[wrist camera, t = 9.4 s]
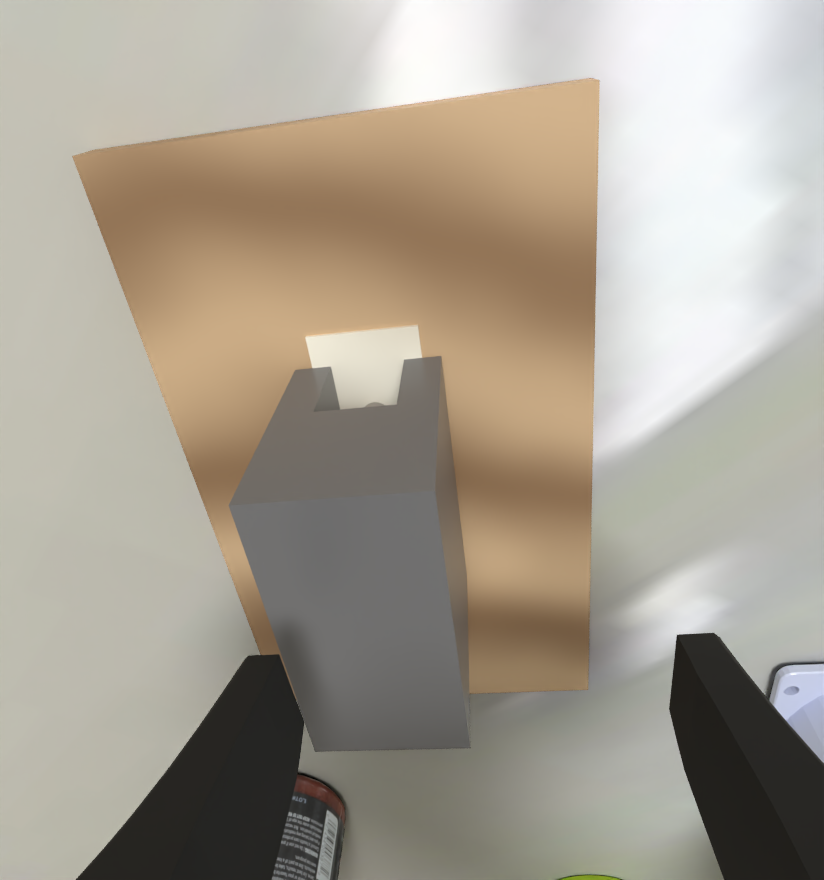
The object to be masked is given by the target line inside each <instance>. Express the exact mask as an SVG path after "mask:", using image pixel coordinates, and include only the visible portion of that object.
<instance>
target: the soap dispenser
mask: <svg viewBox="0 0 824 880" xmlns="http://www.w3.org/2000/svg"><path fill="white" fill-rule="evenodd" d="M560 880H621V879H617V878H613V877H607V876H598V875H582V876H573V877H567V878H563V879H560Z"/></svg>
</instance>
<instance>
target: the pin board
mask: <svg viewBox="0 0 824 880" xmlns="http://www.w3.org/2000/svg"><path fill="white" fill-rule="evenodd" d="M598 132H599V80H596V79H593V78H588V79H581V80H574V81H567V82H560V83H554V84H547V85H540V86H533V87H526V88H519V89H512V90H505V91H498V92H491V93H484V94H477V95H471V96H464V97H457V98H450V99H443V100H436V101H429V102H422V103H415V104H408V105H401V106H395V107H388V108H381V109H374V110H367V111H360V112H353V113H346V114H339V115H332V116H325V117H319V118H312V119H305V120H298V121H291V122H284V123H277V124H270V125H263V126H256V127H249V128H243V129H236V130H229V131H222V132H215V133H208V134H201V135H194V136H187V137H180V138H173V139H166V140H160V141H153V142H146V143H139V144H132V145H125V146H118V147H111V148H104V149H97V150H92V151H88V152H85V153H82V154H78V155H75V156H72V157H73V159H74V162H75V165H76V167H77V170H78V173H79V175H80V178H81V180H82V183H83V186H84V188H85V191H86V194H87V196H88V199H89V202H90V204H91V207H92V210H93V212H94V215H95V217H96V220H97V223H98V225H99V228H100V231H101V233H102V236H103V239H104V241H105V244H106V247H107V249H108V252H109V255H110V257H111V260H112V262H113V265H114V268H115V270H116V273H117V276H118V278H119V281H120V284H121V286H122V289H123V292H124V294H125V297H126V299H127V302H128V305H129V307H130V310H131V313H132V315H133V318H134V321H135V323H136V326H137V329H138V331H139V334H140V337H141V339H142V342H143V344H144V347H145V350H146V352H147V355H148V358H149V360H150V363H151V366H152V368H153V371H154V374H155V376H156V379H157V381H158V384H159V387H160V389H161V392H162V395H163V397H164V400H165V403H166V405H167V408H168V411H169V413H170V416H171V418H172V421H173V424H174V426H175V429H176V432H177V434H178V437H179V440H180V442H181V445H182V448H183V450H184V453H185V456H186V458H187V461H188V463H189V466H190V469H191V471H192V474H193V477H194V479H195V482H196V485H197V487H198V490H199V493H200V495H201V498H202V500H203V503H204V506H205V508H206V511H207V514H208V516H209V519H210V522H211V524H212V527H213V530H214V532H215V535H216V538H217V540H218V543H219V545H220V548H221V551H222V553H223V556H224V559H225V561H226V564H227V567H228V569H229V572H230V575H231V577H232V580H233V582H234V585H235V588H236V590H237V593H238V596H239V598H240V601H241V604H242V606H243V609H244V612H245V614H246V617H247V620H248V622H249V625H250V627H251V630H252V633H253V635H254V638H255V641H256V643H257V646H258V649H259V651H260V654H261V655H274V654H279V655H280V658H281V661H282V663H283V666H284V669H285V671H286V674H287V677H288V679H289V676H288V673H287V670H286V667H285V665H284V662H283V659H282V656H281V653H280V650H279V647H278V645H277V642H276V639H275V636H274V633H273V630H272V628H271V625H270V622H269V619H268V616H267V613H266V611H265V608H264V605H263V602H262V599H261V596H260V593H259V591H258V588H257V585H256V582H255V579H254V576H253V574H252V571H251V568H250V565H249V562H248V559H247V557H246V554H245V551H244V548H243V545H242V542H241V539H240V537H239V534H238V531H237V528H236V525H235V522H234V520H233V517H232V514H231V511H230V508H229V503H230V501H231V499H232V497H233V495H234V493H235V491H236V489H237V487H238V485H239V483H240V481H241V479H242V477H243V475H244V473H245V471H246V469H247V467H248V465H249V463H250V461H251V459H252V457H253V455H254V453H255V451H256V449H257V446H258V444H259V442H260V440H261V438H262V436H263V434H264V432H265V430H266V428H267V426H268V424H269V422H270V420H271V418H272V416H273V414H274V412H275V410H276V408H277V406H278V404H279V402H280V400H281V398H282V396H283V394H284V392H285V390H286V387H287V385H288V383H289V381H290V379H291V377H292V375H293V373H294V371H295V370H300V369H310V368H320V367H331V369H332V374H333V378H334V383H335V388H336V392H337V397H338V402H339V406H340V409H352V408H363V407H375V406H386V405H397V399H398V393H399V387H400V381H401V375H402V369H403V363H404V359H415V358H425V357H436V356H441V357H442V366H443V375H444V383H445V392H446V400H447V409H448V418H449V426H450V435H451V444H452V452H453V461H454V469H455V478H456V487H457V495H458V504H459V513H460V521H461V530H462V538H463V547H464V556H465V564H466V573H467V600H468V649H469V694H476V693H506V692H536V691H566V690H588V671H589V617H590V563H591V509H592V456H593V402H594V348H595V294H596V240H597V186H598ZM289 682H290V679H289ZM290 685H291V688H292V690H293V687H292V684H291V682H290ZM293 693H294V690H293ZM294 696H295V693H294ZM295 698H296V696H295ZM296 700H297V699H296Z"/></svg>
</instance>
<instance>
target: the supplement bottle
mask: <svg viewBox="0 0 824 880" xmlns="http://www.w3.org/2000/svg"><path fill="white" fill-rule="evenodd" d="M344 824H345V808H344V806H343V804H342V802H341V800H340V799H339V798H338V796H337V795H336V794H335V793H334V792H333V791H332V790H331V789H330V788H328V787H327V786H326V785H324V784H322V783H321V782H319V781H317V780H314V779H311V778H308V777H306V776H303V775H299V774H297V779H296V784H295V788H294V792H293V796H292V800H291V804H290V809H289V813H288V817H287V821H286V825H285V829H284V833H283V837H282V841H281V845H280V849H279V853H278V857H277V861H276V865H275V869H274V873H273V877H272V880H338V874H339V866H340V858H341V852H342V844H343V837H344V830H345V829H344Z"/></svg>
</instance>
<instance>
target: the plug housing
mask: <svg viewBox="0 0 824 880" xmlns="http://www.w3.org/2000/svg"><path fill="white" fill-rule="evenodd" d="M229 508H230V511H231V514H232V517H233V520H234V522H235V525H236V528H237V531H238V534H239V537H240V539H241V542H242V545H243V548H244V551H245V554H246V557H247V559H248V562H249V565H250V568H251V571H252V574H253V576H254V579H255V582H256V585H257V588H258V591H259V593H260V596H261V599H262V602H263V605H264V608H265V611H266V613H267V616H268V619H269V622H270V625H271V628H272V630H273V633H274V636H275V639H276V642H277V645H278V647H279V650H280V653H281V656H282V659H283V662H284V665H285V667H286V670H287V673H288V676H289V679H290V682H291V684H292V687H293V690H294V693H295V696H296V699H297V702H298V704H299V707H300V710H301V713H302V716H303V719H304V721H305V724H306V727H307V730H308V733H309V736H310V738H311V741H312V744H313V747H314V750H315V752H318V751H362V750H407V749H451V748H471V747H470V698H469V649H468V600H467V573H466V564H465V556H464V547H463V538H462V530H461V521H460V513H459V504H458V495H457V487H456V478H455V469H454V461H453V452H452V444H451V435H450V426H449V418H448V409H447V400H446V392H445V383H444V375H443V366H442V357H441V356H436V357H425V358H415V359H404V363H403V369H402V375H401V381H400V387H399V393H398V399H397V405H386V406H375V407H363V408H352V409H340V406H339V402H338V397H337V392H336V388H335V383H334V378H333V374H332V369H331V367H320V368H310V369H300V370H295V371H294V373H293V375H292V377H291V379H290V381H289V383H288V385H287V387H286V390H285V392H284V394H283V396H282V398H281V400H280V402H279V404H278V406H277V408H276V410H275V412H274V414H273V416H272V418H271V420H270V422H269V424H268V426H267V428H266V430H265V432H264V434H263V436H262V438H261V440H260V442H259V444H258V446H257V449H256V451H255V453H254V455H253V457H252V459H251V461H250V463H249V465H248V467H247V469H246V471H245V473H244V475H243V477H242V479H241V481H240V483H239V485H238V487H237V489H236V491H235V493H234V495H233V497H232V499H231V501H230V503H229Z"/></svg>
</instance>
